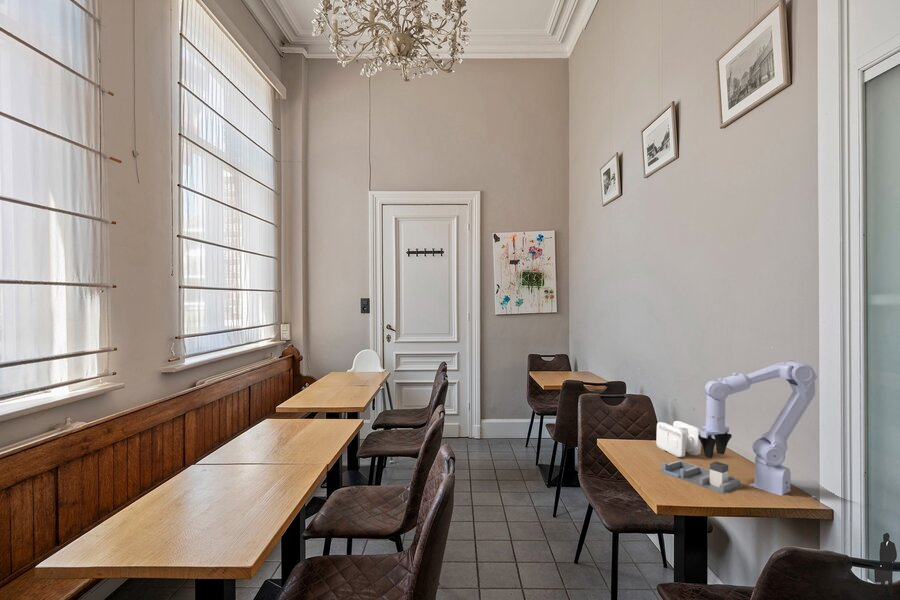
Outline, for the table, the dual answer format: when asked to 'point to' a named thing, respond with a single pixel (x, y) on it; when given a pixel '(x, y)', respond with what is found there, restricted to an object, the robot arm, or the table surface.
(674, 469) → the parts fixture tray
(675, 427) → the cable organizer
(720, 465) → the white upright block
